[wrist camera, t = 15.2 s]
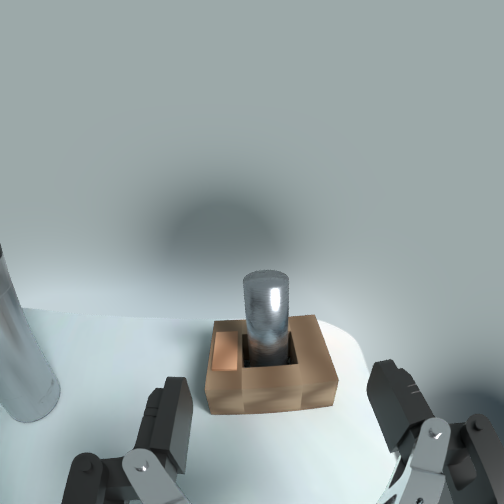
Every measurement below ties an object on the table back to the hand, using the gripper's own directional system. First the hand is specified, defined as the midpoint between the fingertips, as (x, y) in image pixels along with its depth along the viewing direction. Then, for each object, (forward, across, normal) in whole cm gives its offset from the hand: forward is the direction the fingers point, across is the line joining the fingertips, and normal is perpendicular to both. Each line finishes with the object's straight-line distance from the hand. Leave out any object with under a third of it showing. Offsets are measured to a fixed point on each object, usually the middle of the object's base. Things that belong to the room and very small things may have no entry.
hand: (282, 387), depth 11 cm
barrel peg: (+14, 0, +14) cm, 20 cm away
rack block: (+14, 0, +14) cm, 20 cm away
